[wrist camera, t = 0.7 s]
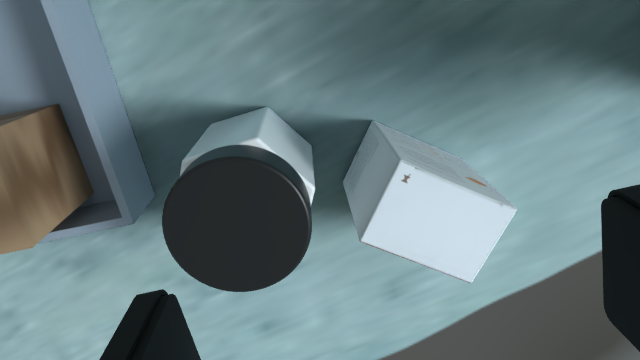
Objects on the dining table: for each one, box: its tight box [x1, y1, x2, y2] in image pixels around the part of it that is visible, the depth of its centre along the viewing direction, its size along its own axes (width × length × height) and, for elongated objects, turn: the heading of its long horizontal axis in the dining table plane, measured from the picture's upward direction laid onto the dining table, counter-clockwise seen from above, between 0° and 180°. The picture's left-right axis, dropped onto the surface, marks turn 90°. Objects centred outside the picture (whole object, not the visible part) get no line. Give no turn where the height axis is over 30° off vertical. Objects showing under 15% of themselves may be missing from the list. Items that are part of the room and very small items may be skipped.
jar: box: [162, 107, 315, 292], centre depth 32 cm, size 9×8×12 cm
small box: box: [343, 121, 517, 283], centre depth 33 cm, size 8×6×10 cm
